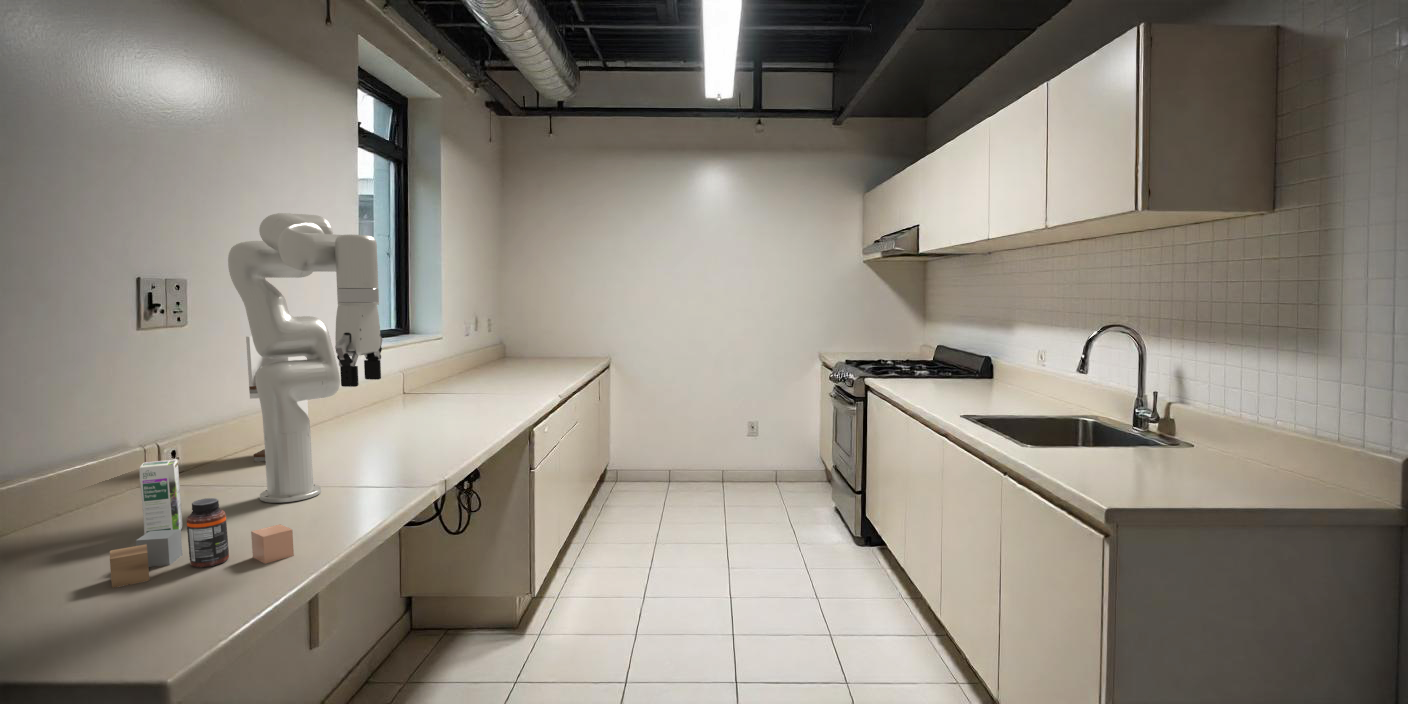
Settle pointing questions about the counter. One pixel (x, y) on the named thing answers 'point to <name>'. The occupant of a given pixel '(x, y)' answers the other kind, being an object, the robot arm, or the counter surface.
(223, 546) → the supplement bottle
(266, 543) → the terracotta block
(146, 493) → the syrup box
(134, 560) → the walnut block
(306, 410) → the display case
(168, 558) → the slate grey block
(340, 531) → the counter surface
